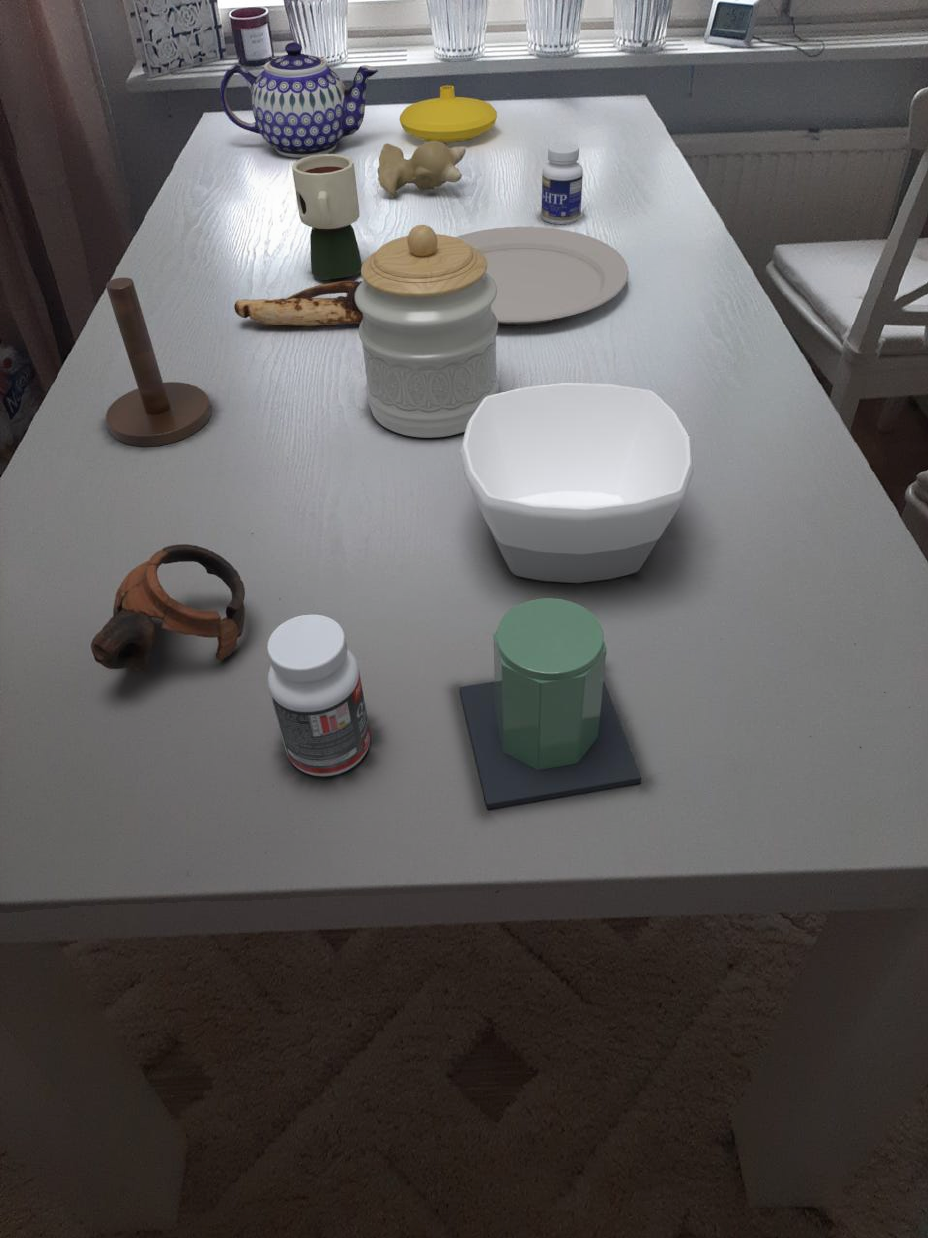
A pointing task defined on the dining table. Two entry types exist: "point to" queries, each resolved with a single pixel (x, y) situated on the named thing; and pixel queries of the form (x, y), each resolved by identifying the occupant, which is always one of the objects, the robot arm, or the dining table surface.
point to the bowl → (576, 477)
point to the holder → (149, 384)
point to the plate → (547, 272)
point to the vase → (448, 117)
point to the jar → (427, 333)
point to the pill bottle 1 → (317, 695)
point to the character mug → (329, 213)
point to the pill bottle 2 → (562, 184)
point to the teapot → (301, 103)
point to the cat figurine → (419, 166)
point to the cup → (548, 682)
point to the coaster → (522, 783)
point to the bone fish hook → (306, 307)
